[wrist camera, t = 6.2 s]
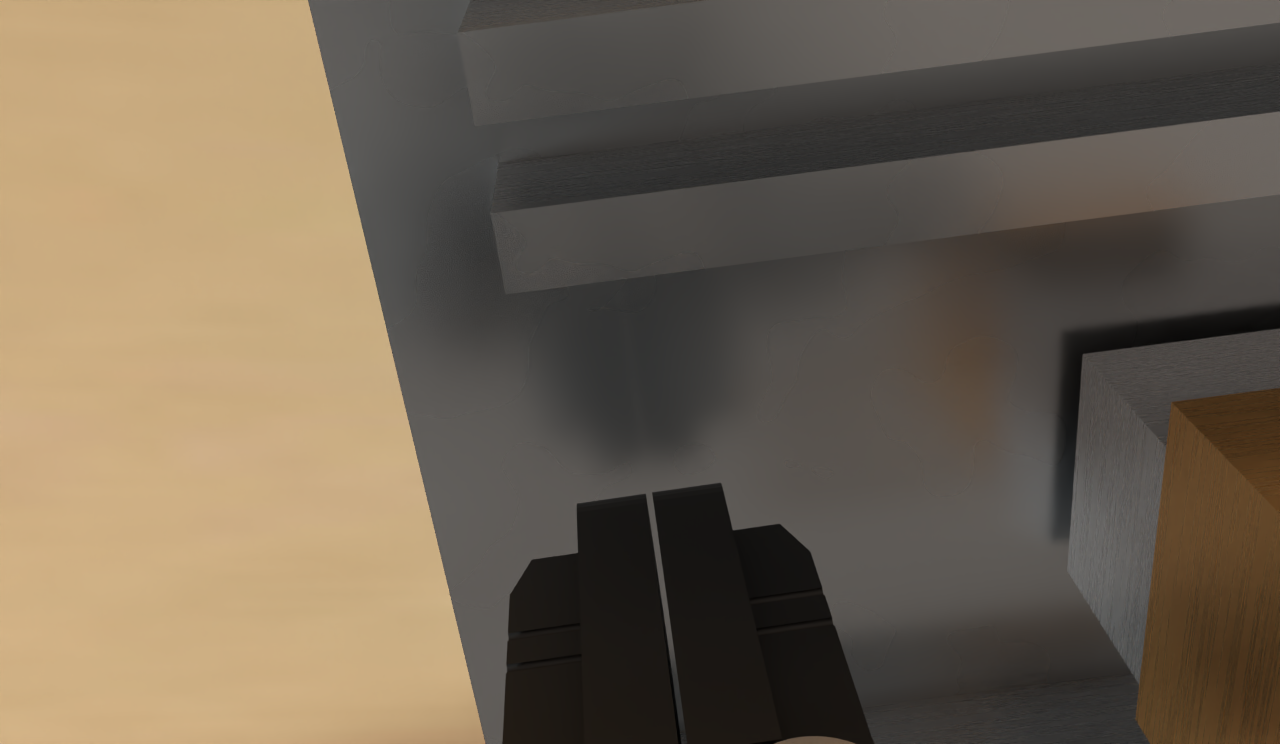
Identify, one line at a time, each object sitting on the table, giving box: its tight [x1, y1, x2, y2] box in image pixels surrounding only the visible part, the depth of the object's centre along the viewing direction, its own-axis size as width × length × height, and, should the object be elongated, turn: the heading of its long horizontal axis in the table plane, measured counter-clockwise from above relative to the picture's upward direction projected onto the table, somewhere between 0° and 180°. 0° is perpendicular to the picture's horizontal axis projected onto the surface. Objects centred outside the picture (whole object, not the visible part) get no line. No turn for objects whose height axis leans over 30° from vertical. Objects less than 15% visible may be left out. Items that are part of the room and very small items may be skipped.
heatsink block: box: [308, 0, 1280, 744], centre depth 14 cm, size 14×19×10 cm
